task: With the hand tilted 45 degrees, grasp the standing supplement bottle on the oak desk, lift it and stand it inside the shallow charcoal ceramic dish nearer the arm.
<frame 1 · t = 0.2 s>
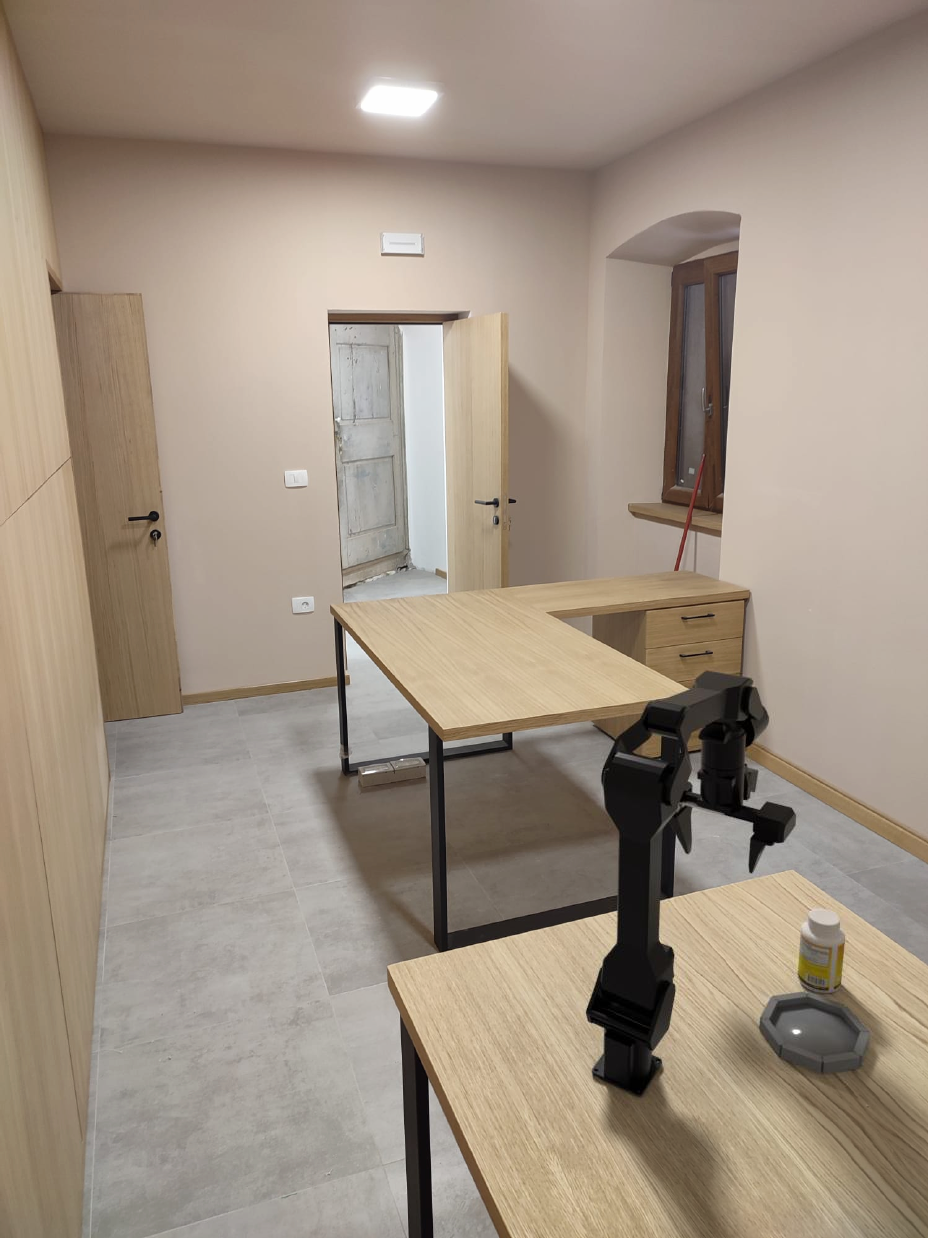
hand: (719, 862, 122), 14 cm above the table, tool pointing down, fingers open, 9 cm apart
supplement bottle: (818, 983, 118), on the table
dish: (813, 1036, 109), on the table
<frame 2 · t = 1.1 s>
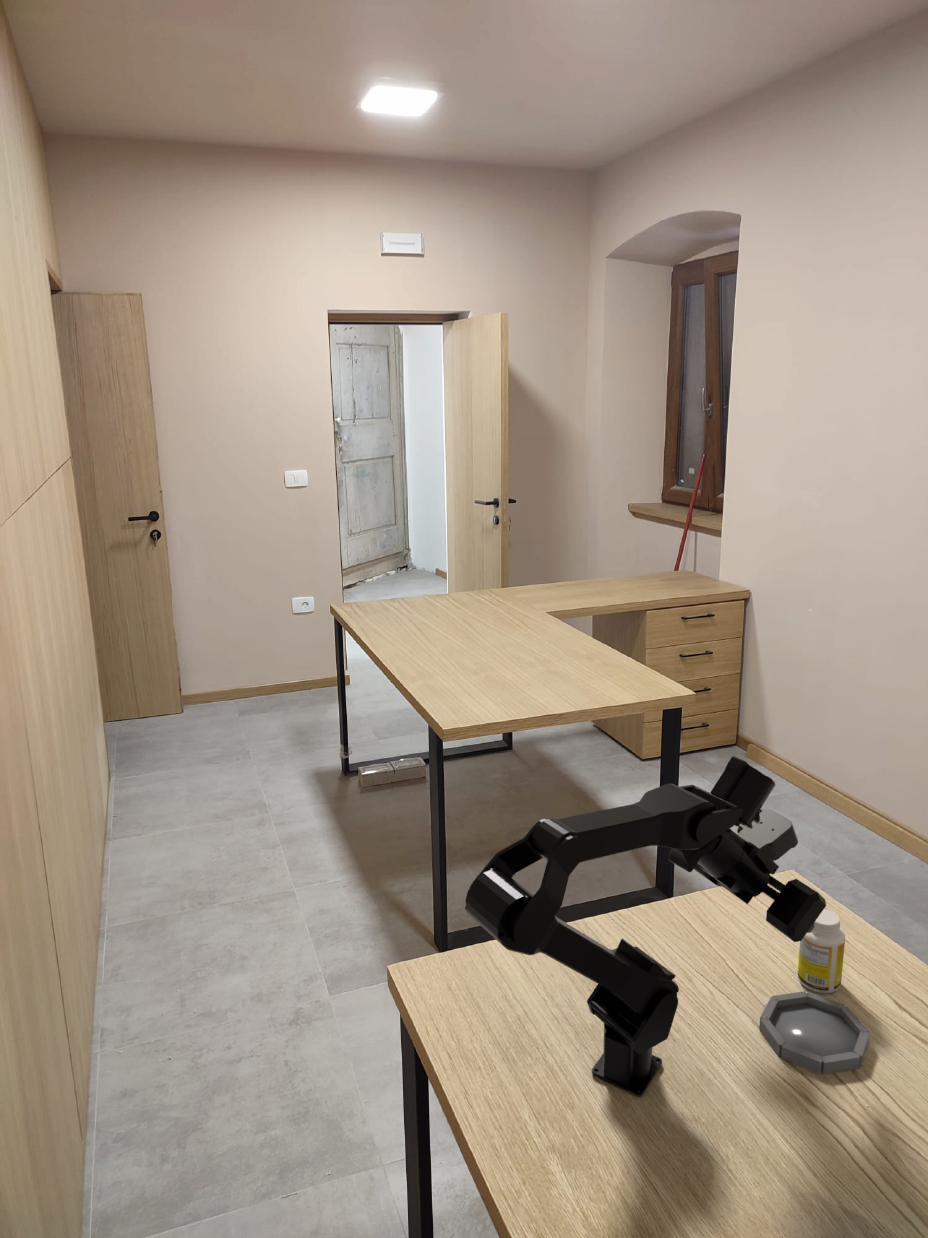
hand: (784, 910, 112), 13 cm above the table, tool tilted 45°, fingers open, 9 cm apart
nothing on the table moved.
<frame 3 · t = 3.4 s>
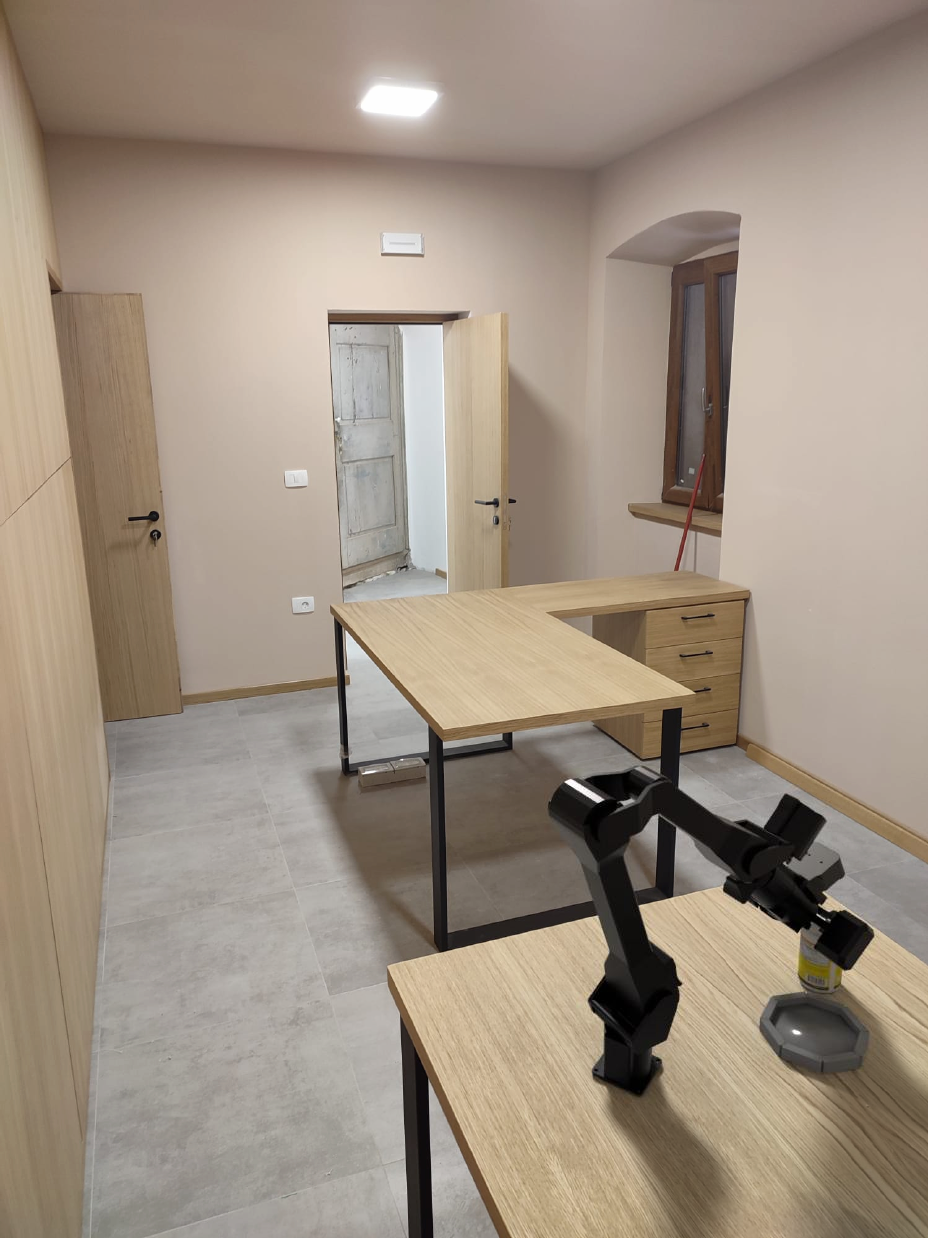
hand: (830, 937, 117), 7 cm above the table, tool tilted 45°, fingers closed on supplement bottle, 5 cm apart
supplement bottle: (818, 983, 118), on the table, touching gripper
when the fingers open (8 cm above the table, at t = 6.7 s): supplement bottle stays where it is, resting on dish.
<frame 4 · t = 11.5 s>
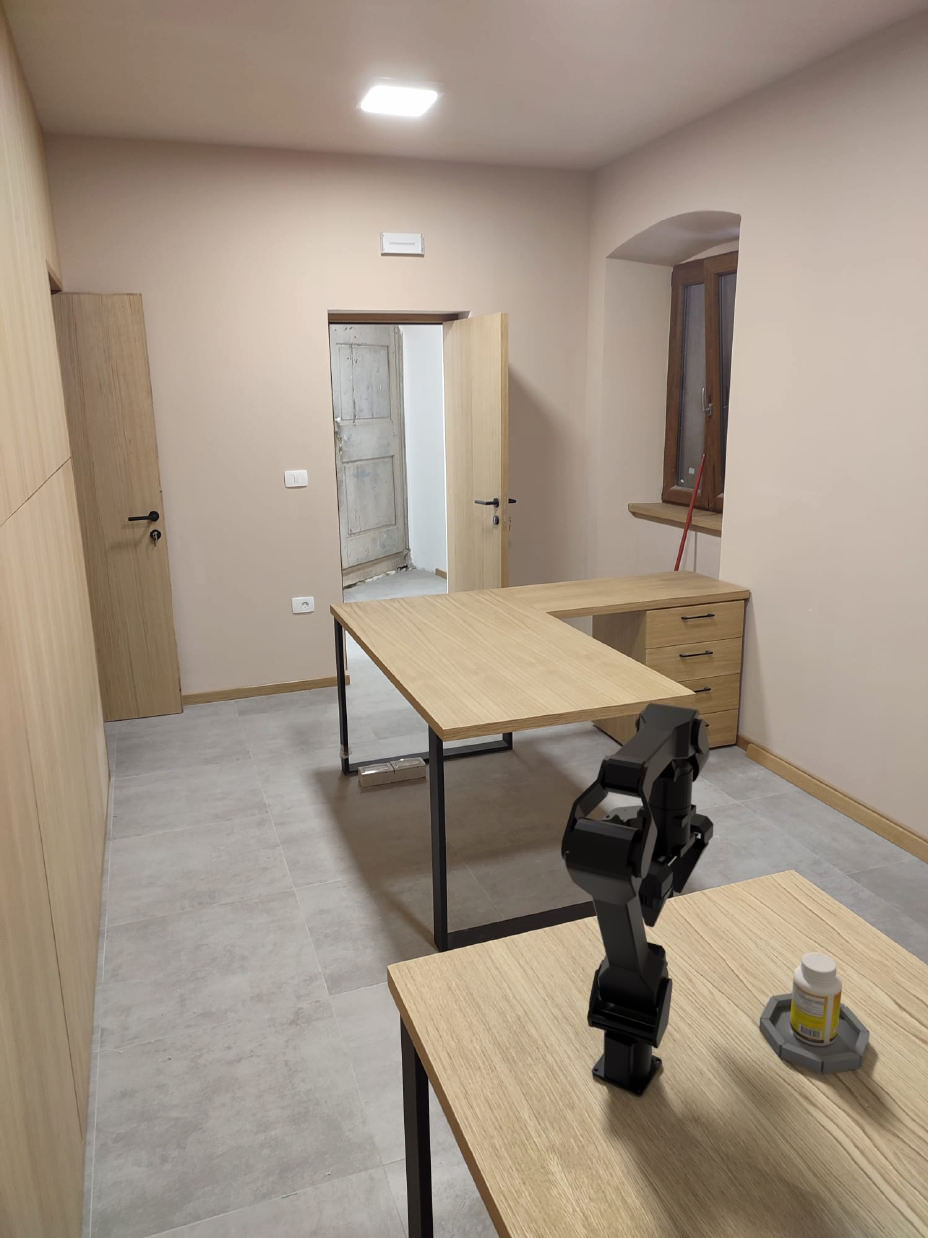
hand: (663, 908, 114), 13 cm above the table, tool pointing down, fingers open, 9 cm apart
supplement bottle: (812, 1034, 108), resting on dish
at the end: supplement bottle 0.2 cm from the dish (horizontally); supplement bottle tilted 0°; supplement bottle resting on dish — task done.
